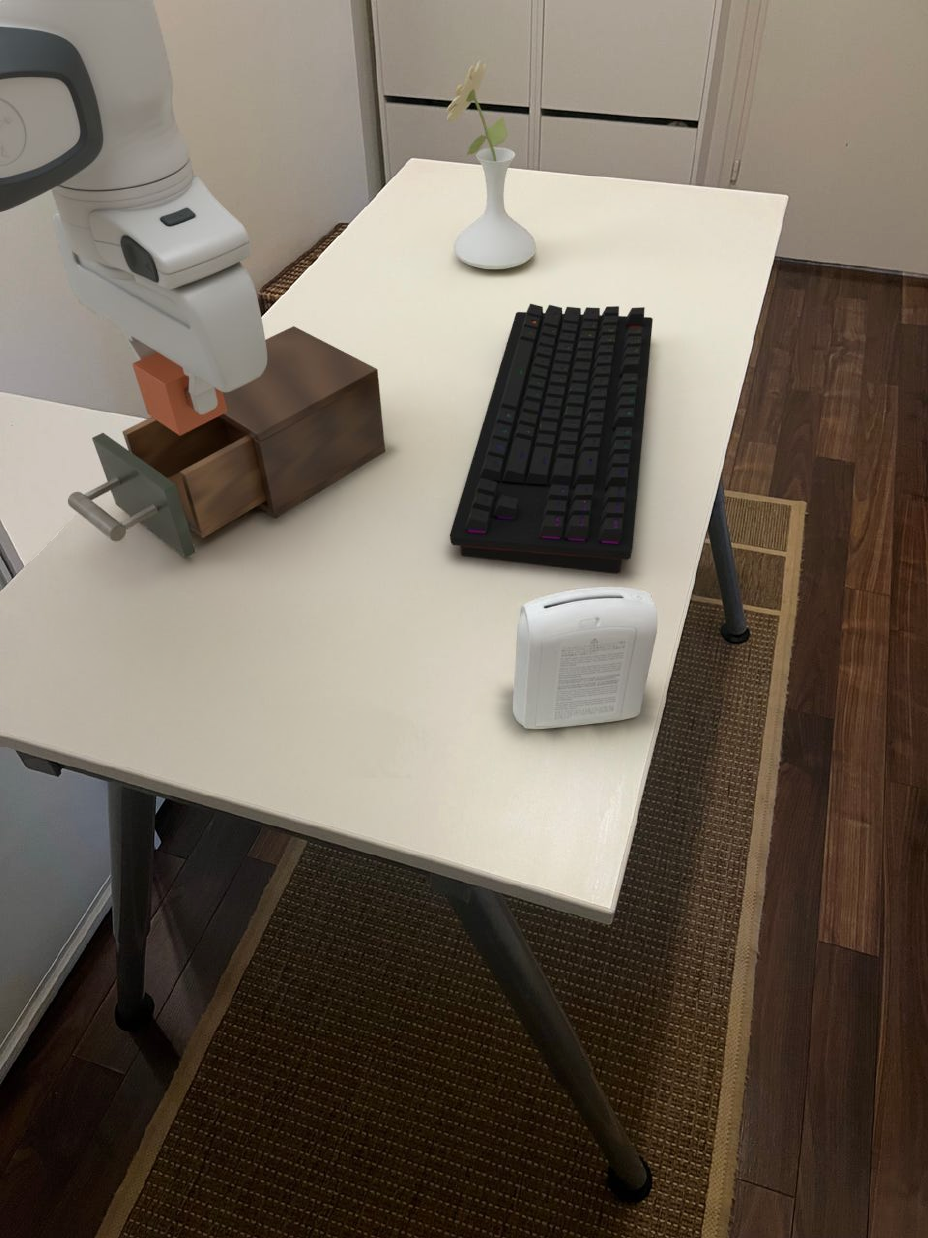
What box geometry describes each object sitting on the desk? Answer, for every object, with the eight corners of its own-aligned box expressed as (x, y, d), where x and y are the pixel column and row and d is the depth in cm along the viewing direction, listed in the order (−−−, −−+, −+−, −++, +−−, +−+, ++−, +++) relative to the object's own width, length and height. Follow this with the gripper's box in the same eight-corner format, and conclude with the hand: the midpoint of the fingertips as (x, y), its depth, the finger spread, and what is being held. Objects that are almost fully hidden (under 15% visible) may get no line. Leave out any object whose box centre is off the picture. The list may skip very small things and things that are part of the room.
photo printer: (633, 679, 75) (653, 567, 66) (647, 721, 72) (670, 609, 63) (508, 694, 74) (511, 582, 65) (517, 737, 71) (522, 626, 62)
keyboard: (515, 332, 114) (516, 293, 111) (649, 342, 112) (654, 303, 109) (449, 559, 86) (448, 517, 82) (627, 579, 83) (634, 537, 80)
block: (179, 436, 70) (165, 384, 66) (147, 414, 72) (131, 363, 68) (227, 411, 72) (215, 360, 69) (194, 390, 74) (181, 340, 71)
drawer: (138, 586, 82) (113, 518, 77) (70, 530, 88) (41, 462, 82) (299, 490, 92) (287, 422, 86) (228, 444, 97) (212, 378, 92)
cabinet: (275, 518, 90) (257, 434, 83) (197, 465, 96) (174, 382, 89) (385, 451, 97) (377, 368, 90) (306, 406, 104) (293, 325, 97)
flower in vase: (494, 233, 134) (495, 36, 116) (552, 258, 128) (563, 53, 110) (428, 263, 128) (418, 59, 110) (486, 290, 122) (486, 79, 104)
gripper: (9, 183, 64) (74, 362, 74) (178, 273, 54) (227, 466, 64) (90, 157, 67) (142, 332, 77) (264, 238, 57) (298, 427, 67)
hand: (181, 394), depth 70 cm, fingers closed on block, 4 cm apart
